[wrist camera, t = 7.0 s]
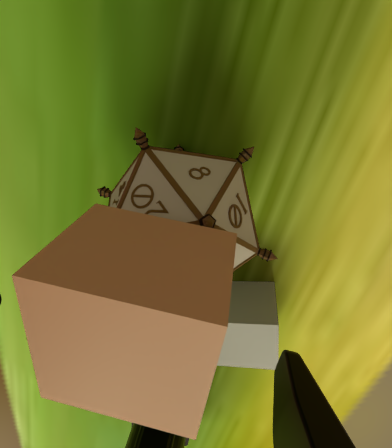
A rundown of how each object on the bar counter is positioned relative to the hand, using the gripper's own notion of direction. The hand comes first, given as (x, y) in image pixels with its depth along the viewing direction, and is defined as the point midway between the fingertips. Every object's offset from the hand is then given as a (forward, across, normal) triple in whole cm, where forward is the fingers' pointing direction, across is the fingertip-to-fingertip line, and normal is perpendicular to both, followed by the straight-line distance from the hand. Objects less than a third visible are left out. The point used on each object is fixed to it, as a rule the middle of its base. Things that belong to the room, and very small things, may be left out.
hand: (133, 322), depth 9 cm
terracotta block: (+3, 0, 0) cm, 3 cm away
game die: (+11, 0, 0) cm, 11 cm away
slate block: (+11, -5, +8) cm, 14 cm away
